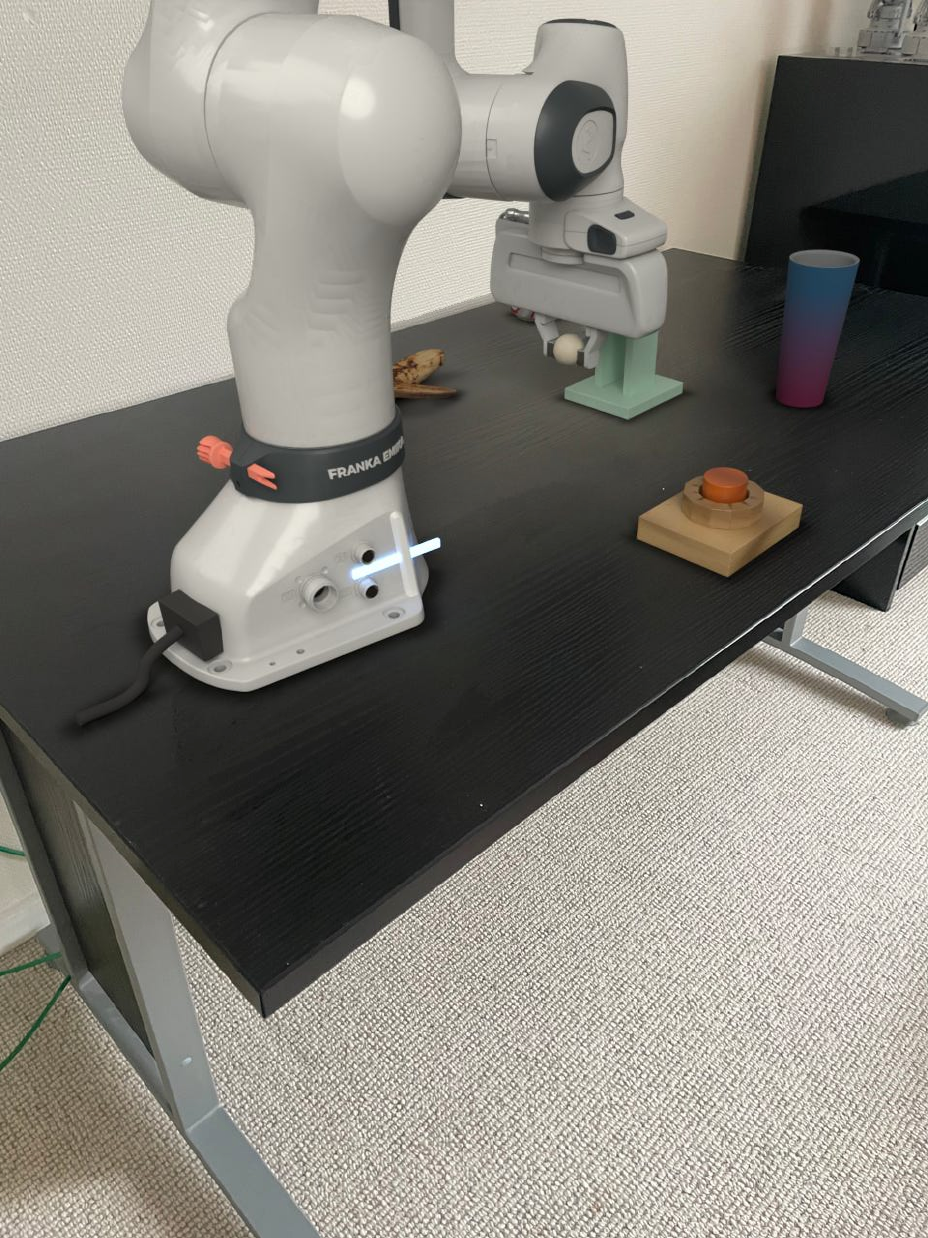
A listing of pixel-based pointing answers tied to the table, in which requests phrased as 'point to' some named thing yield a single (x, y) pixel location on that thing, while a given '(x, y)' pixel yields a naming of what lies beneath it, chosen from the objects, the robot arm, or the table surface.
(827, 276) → the cup
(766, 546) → the button block
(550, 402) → the table surface
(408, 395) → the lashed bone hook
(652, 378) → the lever base
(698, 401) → the table surface
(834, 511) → the table surface
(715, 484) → the button
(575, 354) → the lever
